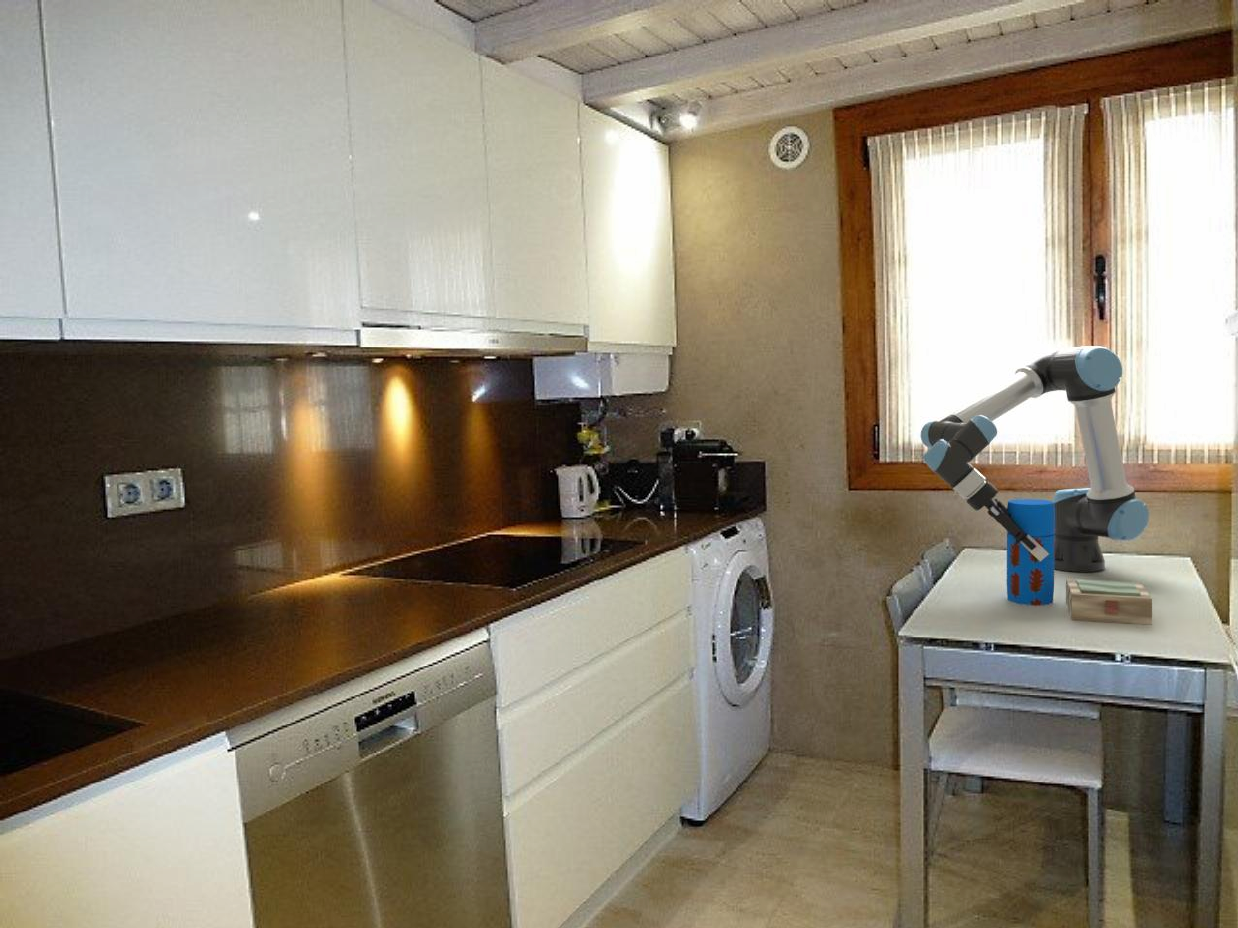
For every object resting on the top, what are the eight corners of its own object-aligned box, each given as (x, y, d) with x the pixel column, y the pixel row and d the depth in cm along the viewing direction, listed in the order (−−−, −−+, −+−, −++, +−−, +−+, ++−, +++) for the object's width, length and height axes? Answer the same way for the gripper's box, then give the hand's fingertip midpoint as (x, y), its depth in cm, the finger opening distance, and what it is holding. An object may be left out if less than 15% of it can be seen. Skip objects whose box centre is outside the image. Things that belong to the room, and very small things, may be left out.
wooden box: (1065, 602, 219) (1066, 576, 218) (1139, 607, 213) (1140, 580, 212) (1072, 620, 204) (1072, 592, 203) (1152, 625, 198) (1152, 596, 197)
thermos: (1059, 605, 217) (1060, 504, 214) (1012, 605, 219) (1013, 505, 216) (1046, 595, 227) (1048, 498, 225) (1002, 594, 229) (1003, 499, 227)
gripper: (965, 494, 237) (1028, 554, 233) (963, 506, 216) (1033, 572, 211) (987, 475, 235) (1051, 534, 230) (987, 485, 213) (1058, 551, 209)
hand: (1043, 553), depth 221 cm, fingers closed on thermos, 11 cm apart
